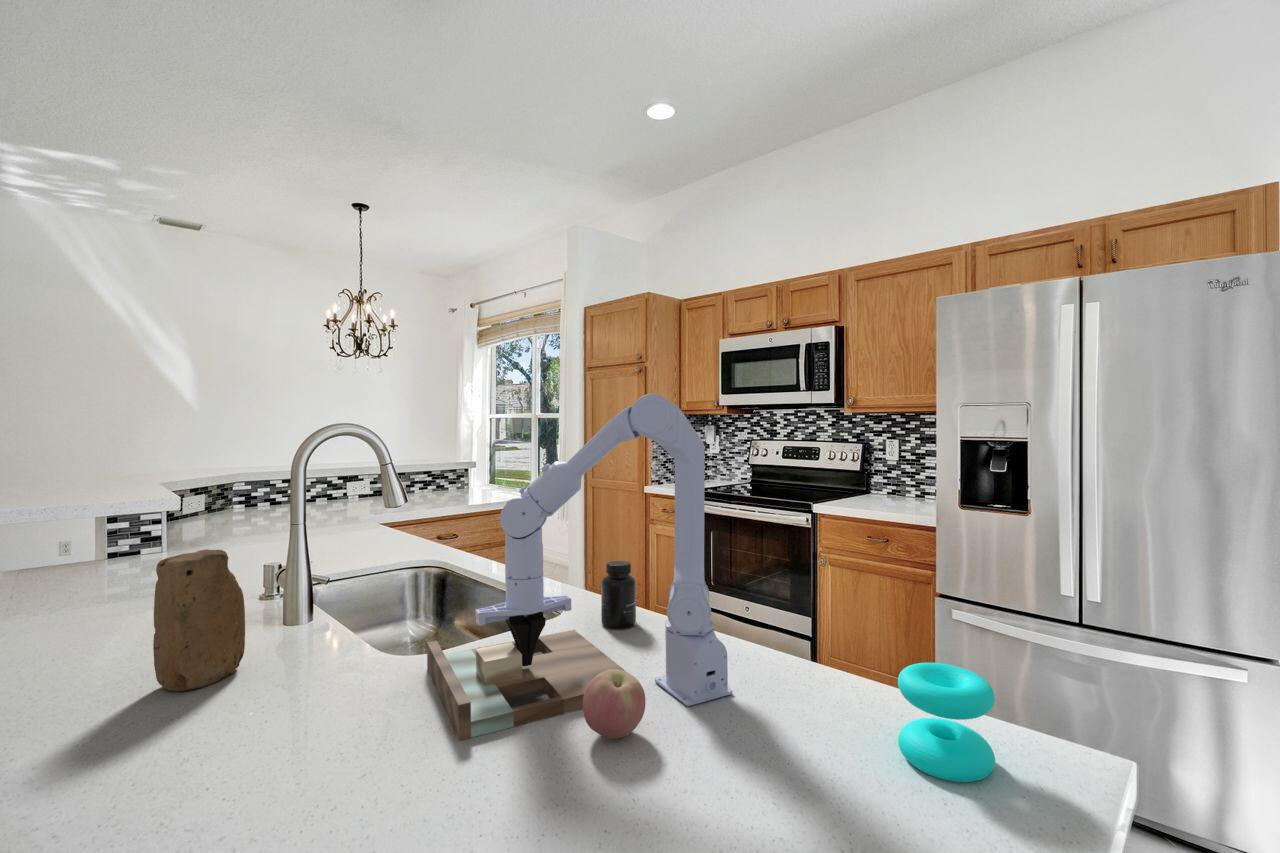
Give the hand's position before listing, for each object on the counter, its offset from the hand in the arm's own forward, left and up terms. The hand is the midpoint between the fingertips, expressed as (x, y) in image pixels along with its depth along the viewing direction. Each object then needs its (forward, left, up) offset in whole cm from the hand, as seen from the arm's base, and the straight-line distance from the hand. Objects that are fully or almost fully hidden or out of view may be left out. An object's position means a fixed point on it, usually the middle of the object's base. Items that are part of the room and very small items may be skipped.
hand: (525, 663), depth 91 cm
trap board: (0, -1, -3) cm, 3 cm away
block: (+26, +44, -3) cm, 51 cm away
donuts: (-45, -36, -3) cm, 58 cm away
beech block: (0, +4, -1) cm, 4 cm away
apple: (-21, -5, -3) cm, 22 cm away
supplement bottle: (+16, -24, -3) cm, 29 cm away
